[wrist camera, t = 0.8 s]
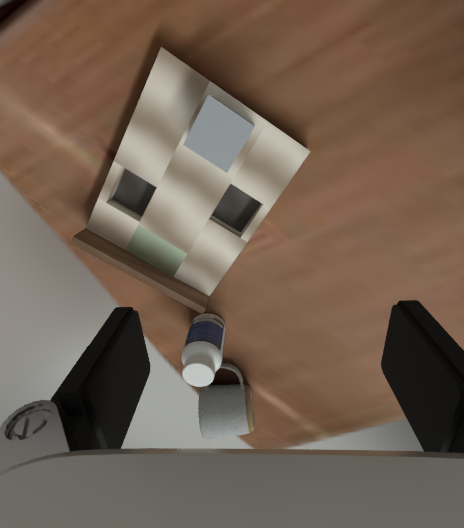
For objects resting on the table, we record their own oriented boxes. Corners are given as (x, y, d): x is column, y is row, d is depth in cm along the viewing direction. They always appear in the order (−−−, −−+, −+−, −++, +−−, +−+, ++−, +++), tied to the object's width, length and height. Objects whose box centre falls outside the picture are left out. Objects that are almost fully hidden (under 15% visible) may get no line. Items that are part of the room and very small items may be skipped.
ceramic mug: (256, 405, 53) (256, 447, 46) (210, 408, 54) (203, 450, 48) (247, 357, 49) (245, 396, 42) (197, 362, 50) (188, 400, 43)
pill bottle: (185, 316, 46) (169, 363, 37) (219, 308, 45) (211, 355, 36) (197, 343, 48) (185, 394, 39) (230, 337, 47) (225, 387, 38)
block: (213, 96, 31) (208, 94, 28) (254, 125, 32) (254, 126, 29) (190, 141, 33) (182, 144, 30) (229, 166, 34) (226, 173, 31)
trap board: (166, 50, 32) (151, 40, 27) (307, 149, 35) (315, 154, 30) (90, 229, 41) (70, 243, 36) (207, 293, 44) (202, 314, 40)
